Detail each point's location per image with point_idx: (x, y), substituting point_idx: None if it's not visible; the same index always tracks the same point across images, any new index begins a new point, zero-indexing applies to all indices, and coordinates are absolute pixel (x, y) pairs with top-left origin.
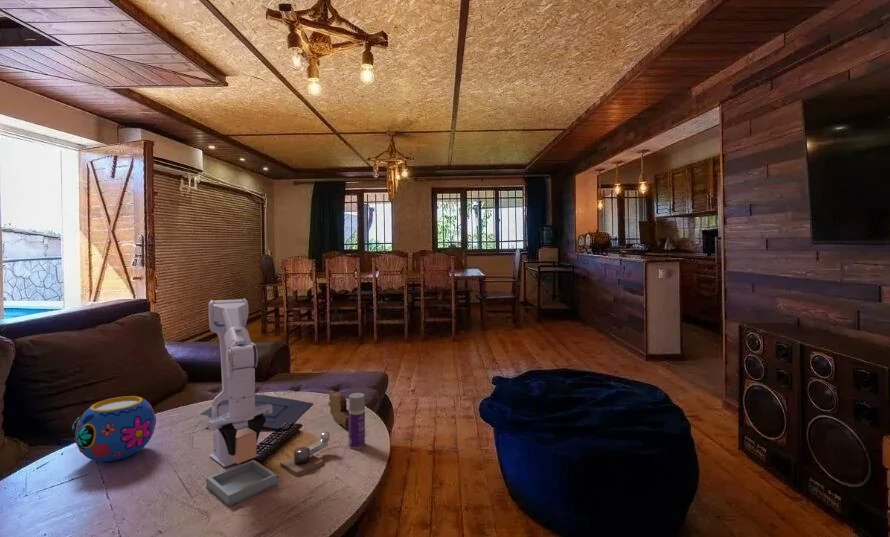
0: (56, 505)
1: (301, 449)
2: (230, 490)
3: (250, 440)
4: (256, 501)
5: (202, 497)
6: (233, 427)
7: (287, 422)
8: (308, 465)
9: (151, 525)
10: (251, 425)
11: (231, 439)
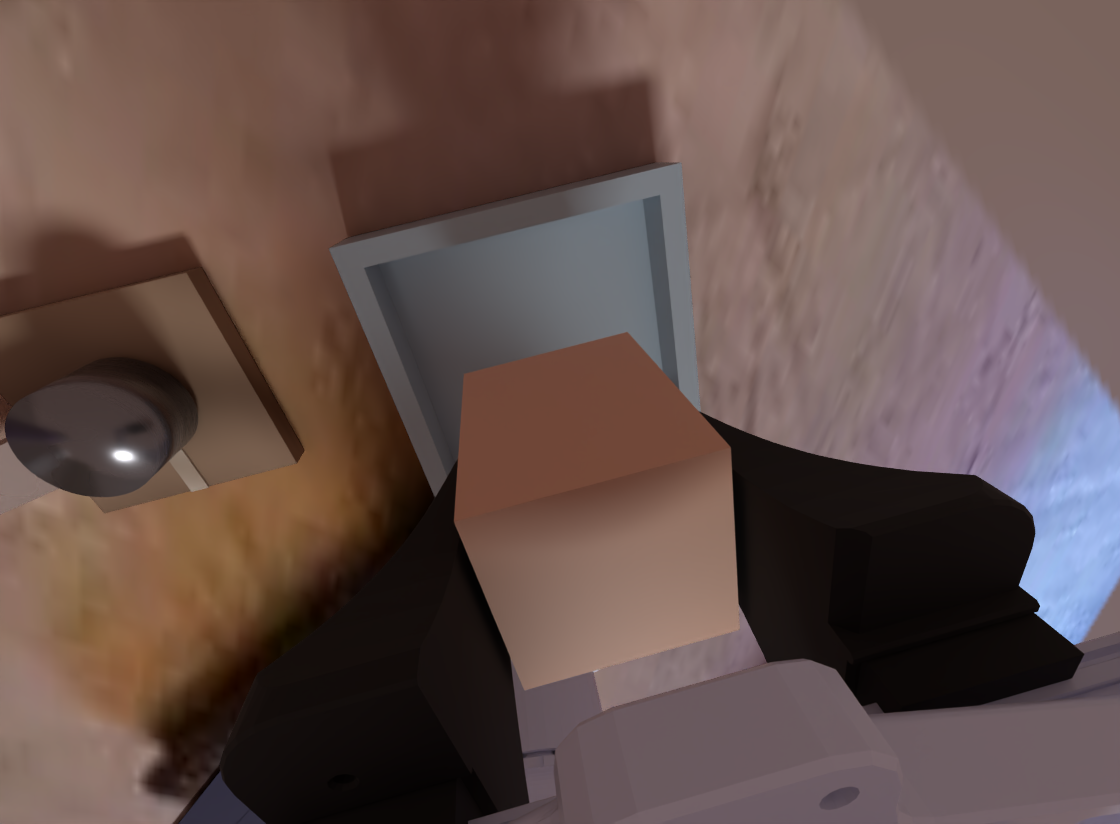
0: (1045, 558)
1: (87, 462)
2: (608, 319)
3: (534, 448)
4: (504, 105)
5: (723, 350)
6: (860, 616)
7: (223, 814)
8: (84, 322)
9: (958, 234)
10: (492, 684)
11: (795, 463)
